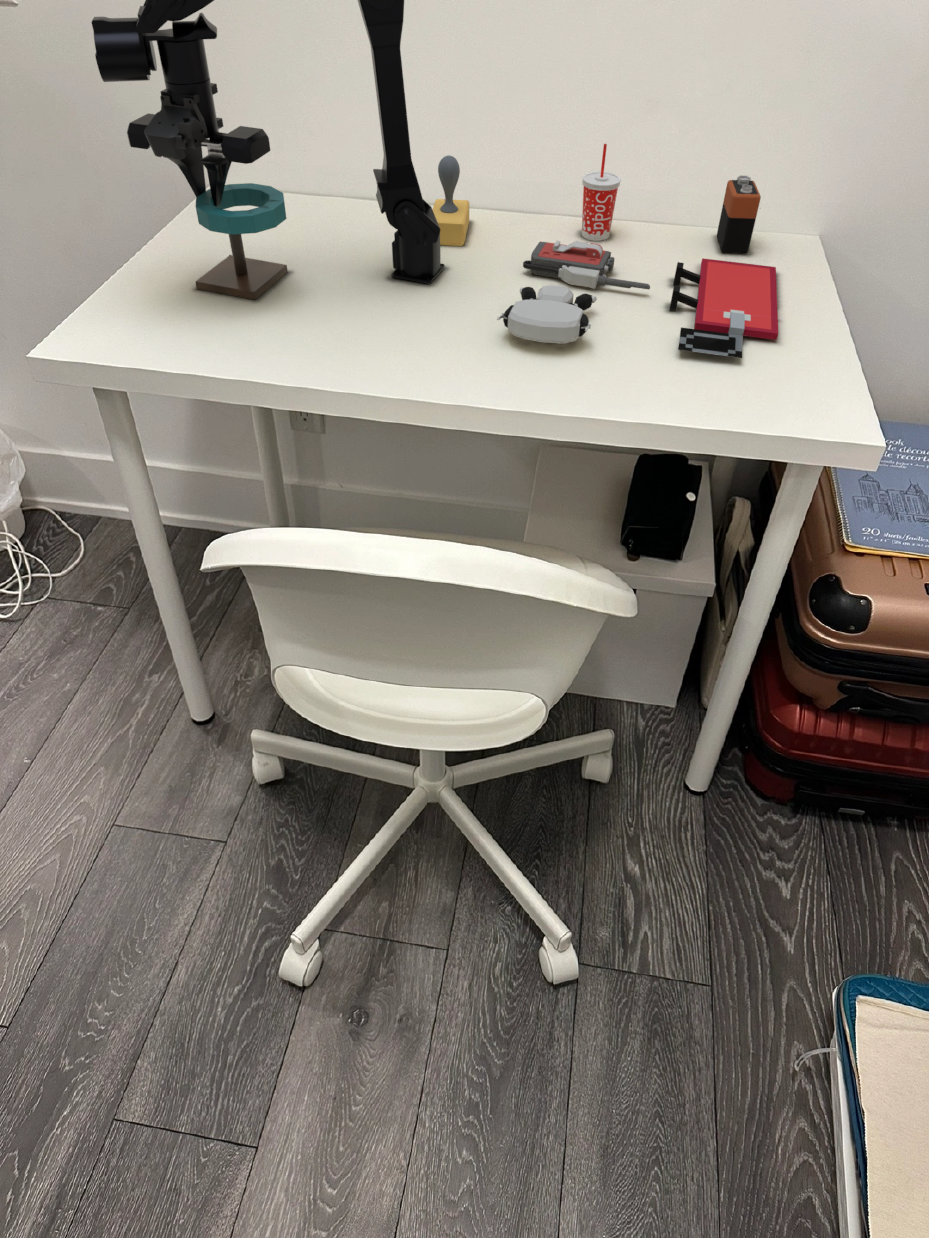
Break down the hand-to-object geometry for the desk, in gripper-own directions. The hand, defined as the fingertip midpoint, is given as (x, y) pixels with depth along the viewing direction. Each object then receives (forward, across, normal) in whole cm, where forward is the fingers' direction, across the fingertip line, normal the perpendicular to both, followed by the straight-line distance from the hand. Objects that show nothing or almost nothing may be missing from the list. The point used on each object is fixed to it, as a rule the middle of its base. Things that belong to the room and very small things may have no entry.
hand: (210, 204), depth 126 cm
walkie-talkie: (+12, +51, +22) cm, 57 cm away
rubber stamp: (+12, +25, +31) cm, 41 cm away
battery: (+12, +70, +42) cm, 82 cm away
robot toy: (+12, +49, +4) cm, 51 cm away
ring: (+1, +5, 0) cm, 5 cm away
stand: (+12, +1, +3) cm, 13 cm away
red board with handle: (+12, +72, +18) cm, 75 cm away
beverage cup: (+12, +48, +38) cm, 62 cm away
